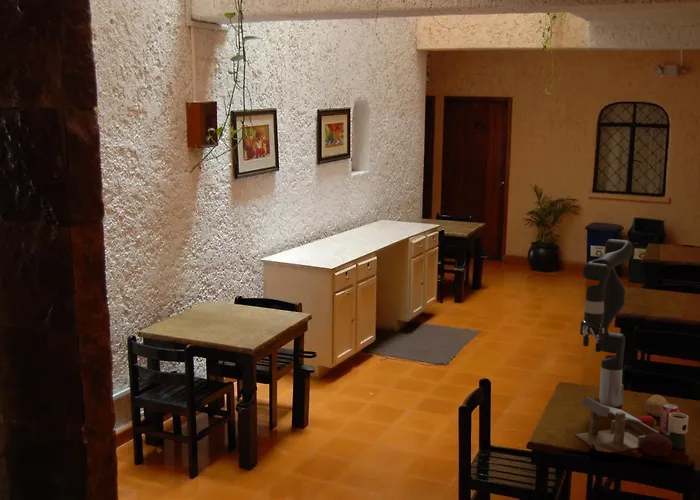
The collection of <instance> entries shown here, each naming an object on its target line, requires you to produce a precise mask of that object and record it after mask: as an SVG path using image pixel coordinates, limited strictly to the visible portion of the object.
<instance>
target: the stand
mask: <svg viewBox="0 0 700 500" xmlns="http://www.w3.org/2000/svg"><path fill="white" fill-rule="evenodd" d="M591 398H592V399H593V400H595V401H597V402H599V403H600V399H599V397H591ZM624 412H625V411H624ZM624 412H616V415H614V416H615V417H614V418H615V419H613V420H611V421H610V423H611V424H610V429H606V430H599V424H600V415H598V414H597V413H595V412H593V411H592V410H590V409H589V425H588V426H589V430H588V432H582V433H576V434H575V435H574V436H575V437H576V438H577V439H579V440H581V441H582V442H584V443H586V444H587V445H588V446H590V447H591V445H592V444H594V446H595V449H594V450H596V451H597V452H599V451H604V452H608V453H617V452H624V451H631V450H638V449H642V448H641V445H640V443H641V440H642V439H643V437H644V436H646V435H648V434H653V433H656V434H660V431H658V430H656V429H654V428H651V427H649V426H647V425H645V424H644V423H640V422H636V421H633V420H629V419H625V413H624ZM608 453H607V454H608Z"/></svg>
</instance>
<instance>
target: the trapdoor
mask: <svg viewBox="0 0 700 500" xmlns="http://www.w3.org/2000/svg"><path fill="white" fill-rule="evenodd" d="M592 398H593V397H587V396H584V397H583V400H582V402H581V406H583V407H584V408H586V409H588V410H589V411H590V410H592V411H593V412H595V413H597V414H598V415H599V417H600V416H601V417H605V418H607V417H608V415H609V414H610V415H613V416H615V415H616V412H624V413H625V419H629V420H633V421H636V422H640V423H642V421H640V420H639V419H637V418H638V417H634V416H633V415H632V414H629V413H628V412H626V411H624V410H622V409H619V408H617V407H609V406H605V405H602V404H601V403H599V402H597V401H595V400H593V399H592Z"/></svg>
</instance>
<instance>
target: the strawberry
mask: <svg viewBox="0 0 700 500" xmlns="http://www.w3.org/2000/svg"><path fill="white" fill-rule="evenodd" d="M636 418H637V419H639V420H640V421H642V423H644V424H645V425H647V426H649V427H651V428H653V429H654V430H656V429H655V428H656V427H655V426H657V427H658V428H659V429H660V425H659V426H658V425H657V420H656V418H654V416H653V415H641V416H638V417H636Z"/></svg>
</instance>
